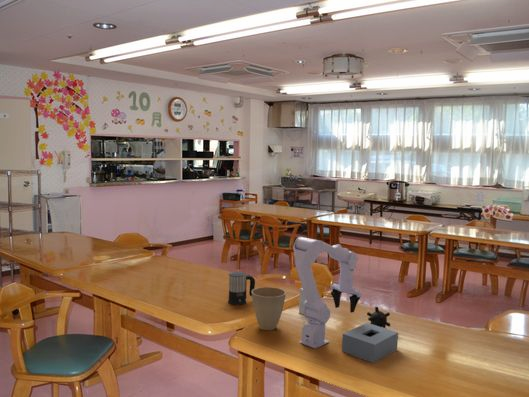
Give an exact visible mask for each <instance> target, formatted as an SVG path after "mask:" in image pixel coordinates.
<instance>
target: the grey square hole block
mask: <svg viewBox="0 0 529 397" xmlns="http://www.w3.org/2000/svg"><path fill="white" fill-rule="evenodd" d="M370 323H371V322H370ZM370 323H369V322H365V323H363V324H361V325H359V326H357V327H355V328H352V329H350V330H348V331H345V332H343V333H342V340H341V343H342V344H341V352H343V353H345V354H347V355H351V356H353V357H356V358H359V359H362V360H364V361H366V362H370V363H372V364H374V363H376V362H379V361H380V360H381V359H383V358H386V357H387V356H388V355H390V354H392V353H394V352H396V351H397V350H398V344H399V343H398V340H399V332H397V331H395V330H391V329H388V328H386V327H385V328H383V327H379V326H376V325H373V324H370ZM370 336H371V337H370Z"/></svg>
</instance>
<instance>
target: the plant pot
mask: <svg viewBox="0 0 529 397" xmlns="http://www.w3.org/2000/svg"><path fill="white" fill-rule="evenodd" d="M286 294H287V292H286V290H285V289H283V288H280V287H274V286H262V287H255V288H254V289H253V290H252V296H251V299H252V304H253V310H254V313H255V314H254V315H255V319H256V322H257V324H258V327H259V329H261V330H263V331H274V330H275V329H276V328H277V327H278V325H279V322H280V318H281V317H282V312H283V309H284V305H285V300H286Z"/></svg>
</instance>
